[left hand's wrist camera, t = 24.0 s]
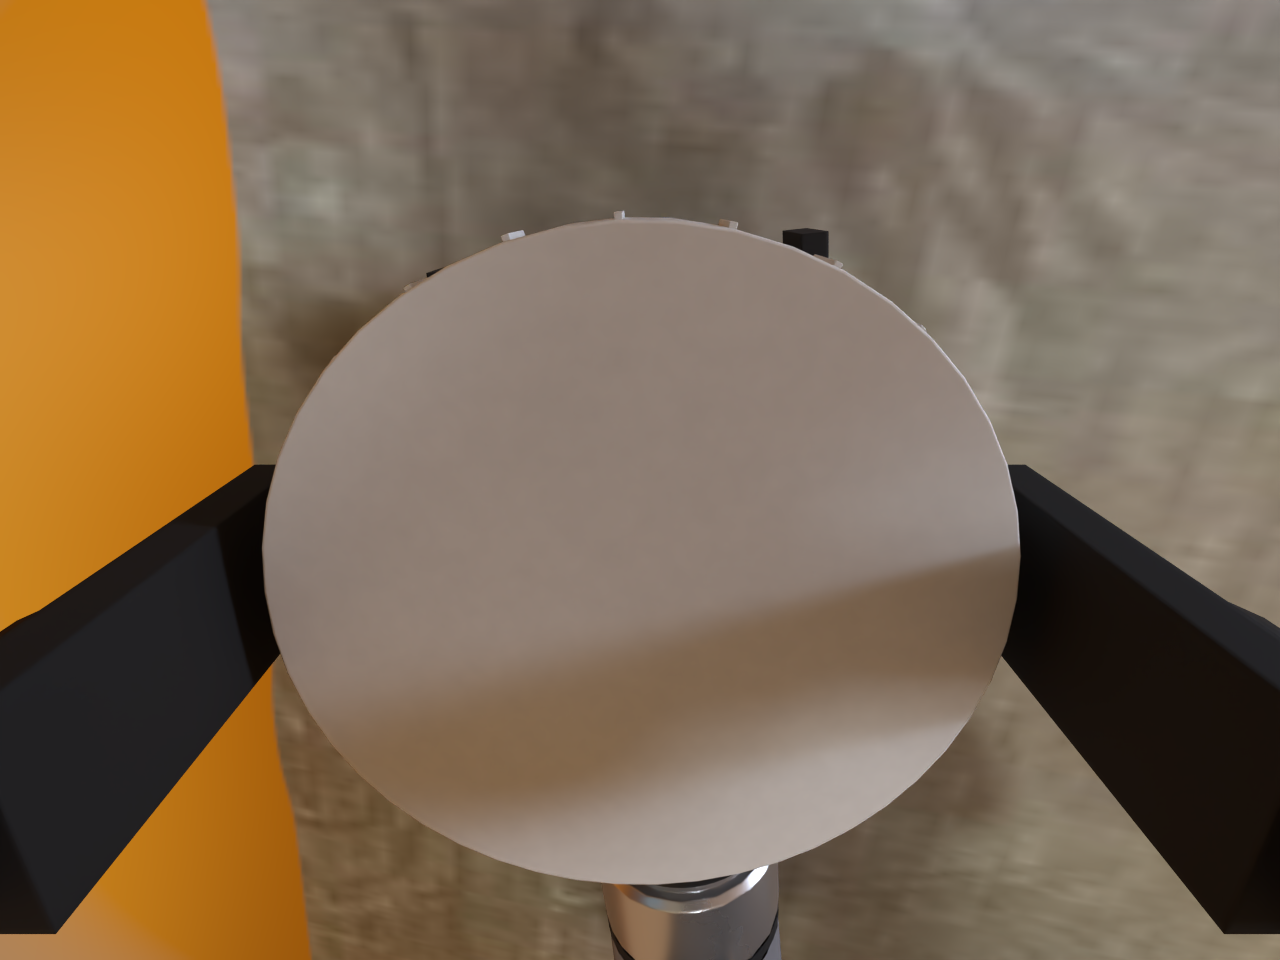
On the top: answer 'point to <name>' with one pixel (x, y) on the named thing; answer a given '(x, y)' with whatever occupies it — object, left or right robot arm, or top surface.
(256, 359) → the top surface
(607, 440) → the lid
